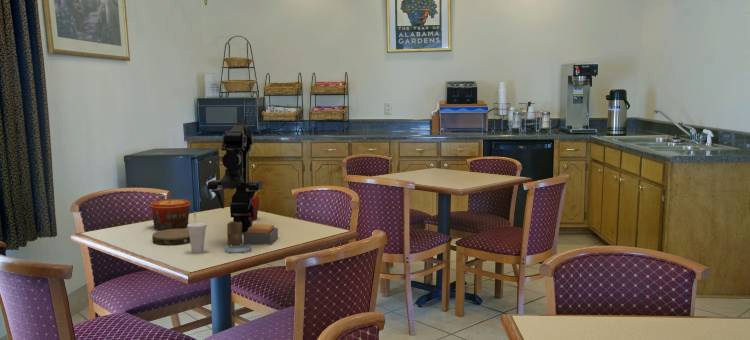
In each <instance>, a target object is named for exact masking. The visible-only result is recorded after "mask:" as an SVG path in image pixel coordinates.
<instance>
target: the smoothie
mask: <svg viewBox="0 0 750 340" xmlns="http://www.w3.org/2000/svg"><path fill="white" fill-rule="evenodd" d="M193 219H194V221H193V222H192V223H188V225H187V228H186V229H188V230H189V236H190V242H191V243H190V248H191V253H192V254H202V253H204V248H205V237H206V228H207V226H208V225H207V223H205V222H197V212H196V211H194V212H193Z"/></svg>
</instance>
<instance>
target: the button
mask: <svg viewBox="0 0 750 340" xmlns="http://www.w3.org/2000/svg"><path fill="white" fill-rule="evenodd" d="M274 228H275V224H264V223H263V224H259V223H256V224H255V223H253V224H252V226H251V227H249V228H248V233H269V232H270V231H272V230H273V229H274Z"/></svg>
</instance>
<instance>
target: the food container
mask: <svg viewBox="0 0 750 340" xmlns="http://www.w3.org/2000/svg"><path fill="white" fill-rule="evenodd" d="M191 206H192V203H191V201H190V200H187V199H182V198H181V199H179V198H178V199H176V198H172V199H171V198H170V199H161V200H155V201H153V202H151V204H150V203H149V206H148V207H149V208H150V210H151V214H152V222H153V228H154V229H155V230H156V231H162V230H168V229H188V228H187V225H188V224H189V219H190V218H189V216H190V209H191Z"/></svg>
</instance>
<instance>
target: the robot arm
mask: <svg viewBox="0 0 750 340" xmlns="http://www.w3.org/2000/svg"><path fill="white" fill-rule="evenodd" d="M253 145H254V136H253V131H252V130H251V129H249V128H248V127H247V124H245V123H233V124H232V127H231V129H230V130H225V131H224V133H223V134H222V138H221V151H223V152H224V151H225V154H224V155H223V156H222V160H221V162H222V165H223V166H224V168H226V169H225V171H224V175H223V176H222V178H221V179H213V180H210V181H207V185H206V189H207V190H209V191H210V193H214V194H215V196H216V197H217V200H218V201H219V204H220V207H221V209H223V210H224V209H225V190H226V189H229V190H235V192H234V193H233V194H232V196H231V202H229V210H230V218H233V220H232V222H242V234H244V233H245V232H246V231H248V228H249V227H251V226H252V225H253V221H252V220H251V217H254V216H255V211H254V205H253V204H252V199H253V197H254V195H255V193H256V192H257V191H259V190H260V191H261V190H262V189H263V181H261V180H250V181H248V156H249V154H250V152H251V151H252V146H253ZM247 188H248V189H249V190H248V191H247Z"/></svg>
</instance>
